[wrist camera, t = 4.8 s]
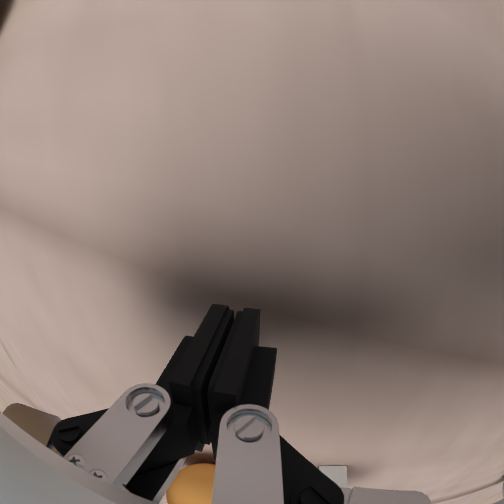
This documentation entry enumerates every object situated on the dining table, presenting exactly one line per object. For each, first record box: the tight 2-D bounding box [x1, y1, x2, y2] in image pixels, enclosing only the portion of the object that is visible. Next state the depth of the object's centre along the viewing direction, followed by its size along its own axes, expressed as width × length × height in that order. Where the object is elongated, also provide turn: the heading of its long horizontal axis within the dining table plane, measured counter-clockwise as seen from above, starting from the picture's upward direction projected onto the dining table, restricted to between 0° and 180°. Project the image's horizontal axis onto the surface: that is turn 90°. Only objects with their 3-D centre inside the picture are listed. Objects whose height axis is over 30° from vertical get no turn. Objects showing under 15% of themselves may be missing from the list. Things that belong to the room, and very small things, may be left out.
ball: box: [166, 463, 216, 504], centre depth 14 cm, size 6×6×6 cm
